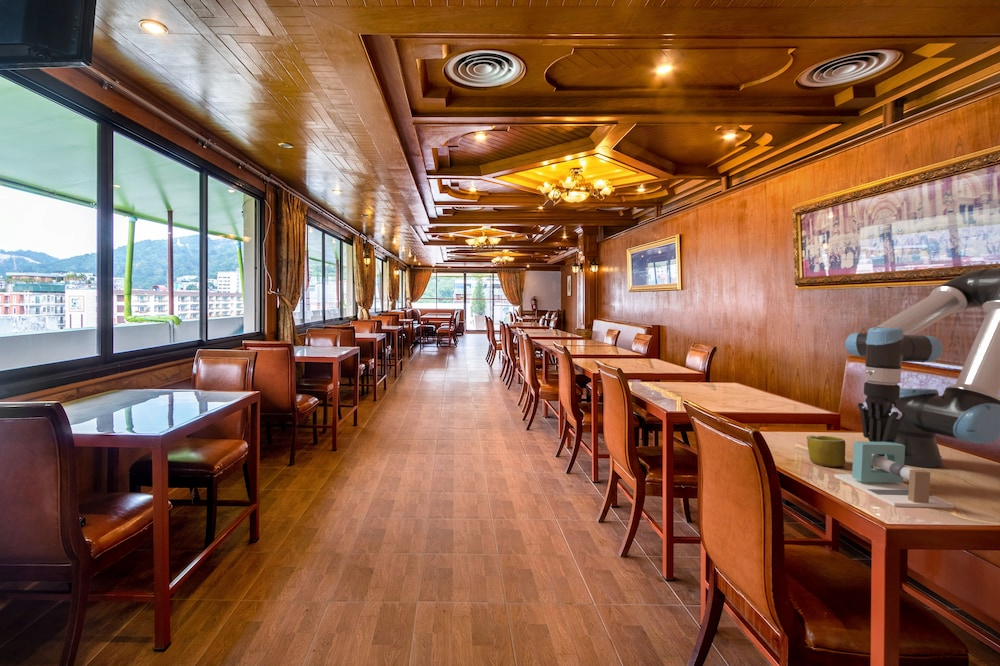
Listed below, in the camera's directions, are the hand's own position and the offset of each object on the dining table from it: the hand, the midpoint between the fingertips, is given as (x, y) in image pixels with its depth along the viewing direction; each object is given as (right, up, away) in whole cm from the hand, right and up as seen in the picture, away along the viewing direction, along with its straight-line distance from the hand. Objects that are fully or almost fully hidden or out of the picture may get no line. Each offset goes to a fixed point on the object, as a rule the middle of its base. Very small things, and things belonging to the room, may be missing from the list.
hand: (877, 466), depth 121 cm
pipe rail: (-5, -4, -9) cm, 11 cm away
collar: (-4, -2, -5) cm, 7 cm away
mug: (-5, -3, +14) cm, 15 cm away
